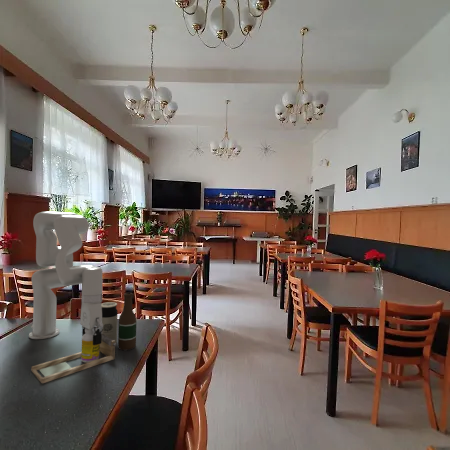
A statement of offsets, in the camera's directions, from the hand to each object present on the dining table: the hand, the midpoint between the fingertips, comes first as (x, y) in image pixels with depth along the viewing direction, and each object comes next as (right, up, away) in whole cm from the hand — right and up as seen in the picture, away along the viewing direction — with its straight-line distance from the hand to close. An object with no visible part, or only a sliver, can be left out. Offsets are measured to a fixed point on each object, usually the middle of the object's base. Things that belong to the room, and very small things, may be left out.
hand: (91, 340), depth 119 cm
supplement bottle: (-1, -8, 0) cm, 8 cm away
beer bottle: (+10, -8, +13) cm, 18 cm away
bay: (-5, -8, -4) cm, 10 cm away
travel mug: (0, -8, +16) cm, 18 cm away
